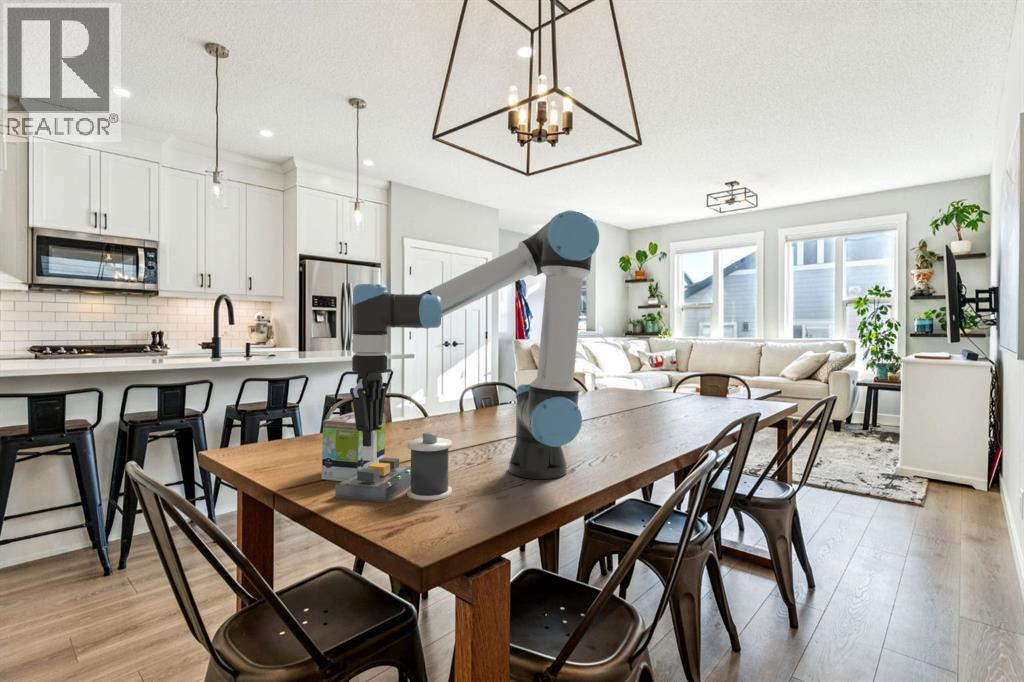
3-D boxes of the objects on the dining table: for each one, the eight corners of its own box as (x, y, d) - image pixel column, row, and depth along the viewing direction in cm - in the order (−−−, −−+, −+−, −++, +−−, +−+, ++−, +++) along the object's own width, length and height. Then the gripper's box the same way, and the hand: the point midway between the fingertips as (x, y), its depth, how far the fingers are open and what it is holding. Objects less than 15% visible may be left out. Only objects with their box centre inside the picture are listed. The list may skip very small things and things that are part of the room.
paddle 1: (379, 478, 116) (379, 469, 116) (373, 481, 113) (373, 472, 113) (363, 477, 117) (363, 468, 117) (357, 480, 114) (357, 471, 114)
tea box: (358, 483, 124) (358, 422, 124) (320, 480, 126) (320, 420, 126) (386, 466, 139) (386, 412, 138) (351, 464, 141) (351, 410, 140)
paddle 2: (399, 466, 126) (399, 458, 125) (394, 469, 123) (394, 461, 123) (383, 465, 126) (384, 457, 126) (378, 468, 124) (378, 460, 124)
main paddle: (390, 472, 121) (390, 463, 121) (383, 475, 118) (383, 467, 118) (374, 470, 122) (374, 462, 122) (367, 474, 119) (367, 465, 119)
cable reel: (457, 488, 121) (458, 430, 120) (442, 502, 111) (442, 439, 111) (417, 484, 123) (418, 428, 123) (399, 498, 113) (399, 436, 113)
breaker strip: (418, 480, 127) (418, 467, 127) (385, 503, 110) (385, 487, 110) (373, 476, 130) (373, 463, 129) (335, 498, 113) (335, 483, 113)
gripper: (369, 352, 122) (368, 451, 123) (338, 355, 109) (338, 466, 110) (398, 353, 120) (398, 453, 121) (370, 356, 108) (370, 468, 108)
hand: (369, 459), depth 115 cm, fingers closed
